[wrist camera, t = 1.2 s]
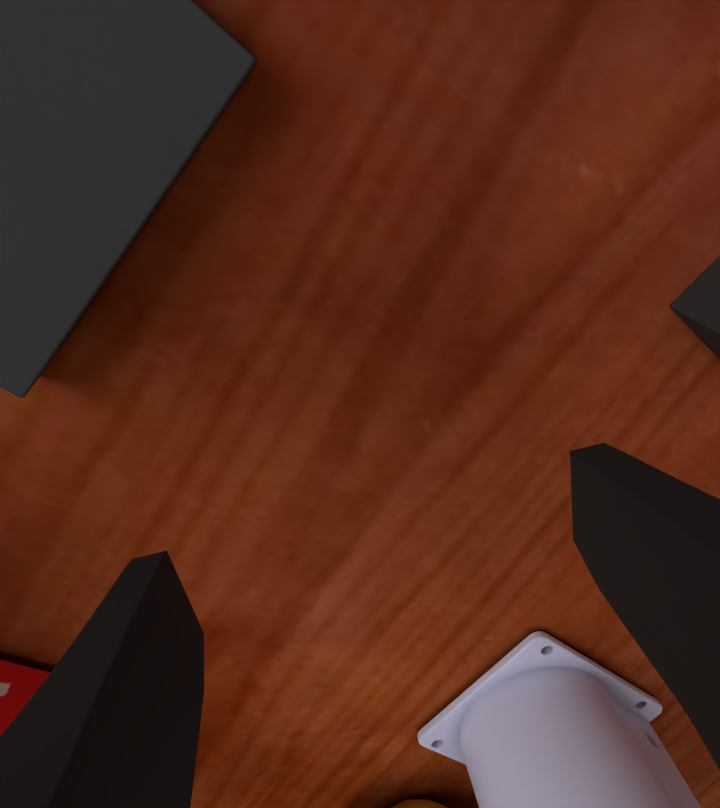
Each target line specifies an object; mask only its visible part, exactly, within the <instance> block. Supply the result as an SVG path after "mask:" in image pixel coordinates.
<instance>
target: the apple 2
mask: <svg viewBox="0 0 720 808" xmlns="http://www.w3.org/2000/svg"><path fill="white" fill-rule="evenodd" d="M391 808H448V807H446V806H444V805H441V804H439V803H436V802H433V801H430V800H427V799H418V800H405V801H403V802H401V803H399V804H397V805H395V806H393V807H391Z"/></svg>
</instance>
